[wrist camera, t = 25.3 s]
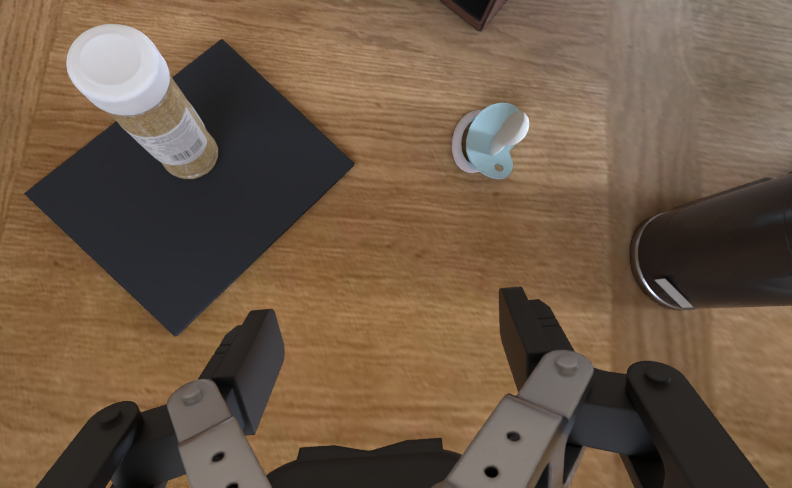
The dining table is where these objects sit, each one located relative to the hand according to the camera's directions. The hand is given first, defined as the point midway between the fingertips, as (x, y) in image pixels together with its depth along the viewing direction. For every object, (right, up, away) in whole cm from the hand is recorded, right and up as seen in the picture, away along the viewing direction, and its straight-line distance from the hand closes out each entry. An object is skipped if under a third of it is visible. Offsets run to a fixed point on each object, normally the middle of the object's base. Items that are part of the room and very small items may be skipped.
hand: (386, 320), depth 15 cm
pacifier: (+8, +12, +26) cm, 29 cm away
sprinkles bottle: (-17, +10, +21) cm, 28 cm away
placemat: (-16, +8, +21) cm, 27 cm away
